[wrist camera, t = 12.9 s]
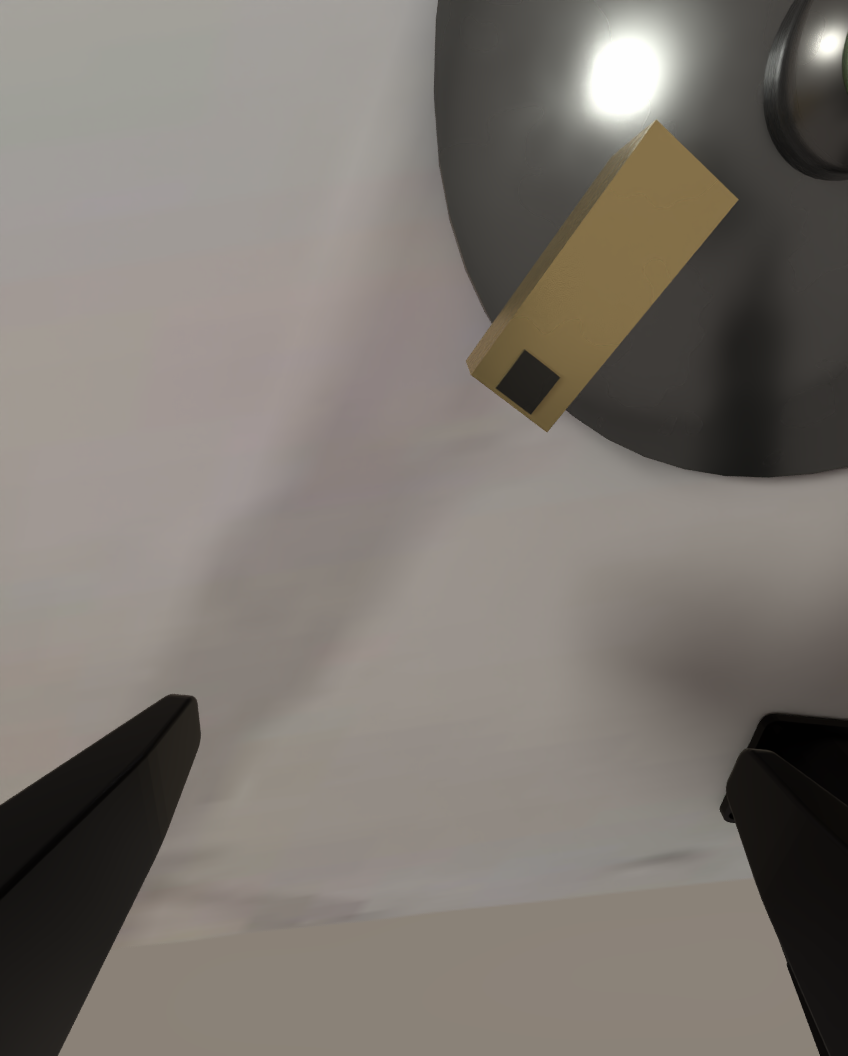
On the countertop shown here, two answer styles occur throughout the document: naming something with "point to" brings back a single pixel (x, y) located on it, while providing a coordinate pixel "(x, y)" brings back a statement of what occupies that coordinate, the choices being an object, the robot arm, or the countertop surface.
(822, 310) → the levelling plate
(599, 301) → the knob
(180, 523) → the countertop surface
